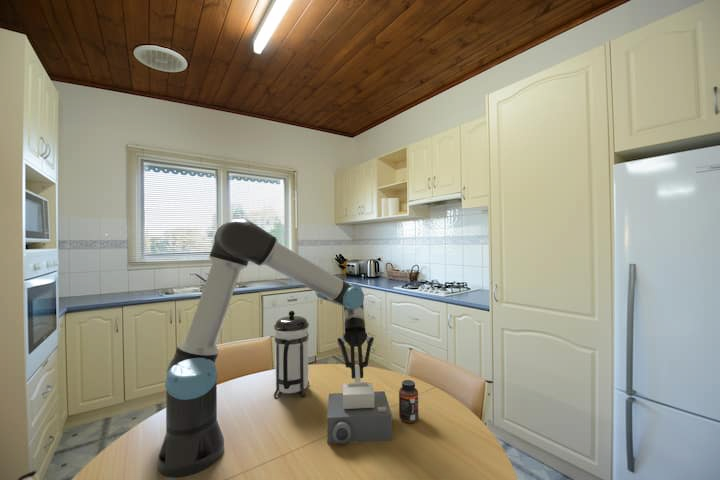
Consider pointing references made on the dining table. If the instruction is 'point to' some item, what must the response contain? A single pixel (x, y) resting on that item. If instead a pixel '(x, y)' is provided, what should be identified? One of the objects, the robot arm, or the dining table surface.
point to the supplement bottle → (408, 402)
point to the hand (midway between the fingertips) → (358, 388)
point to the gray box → (358, 420)
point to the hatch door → (358, 395)
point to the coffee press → (291, 354)
